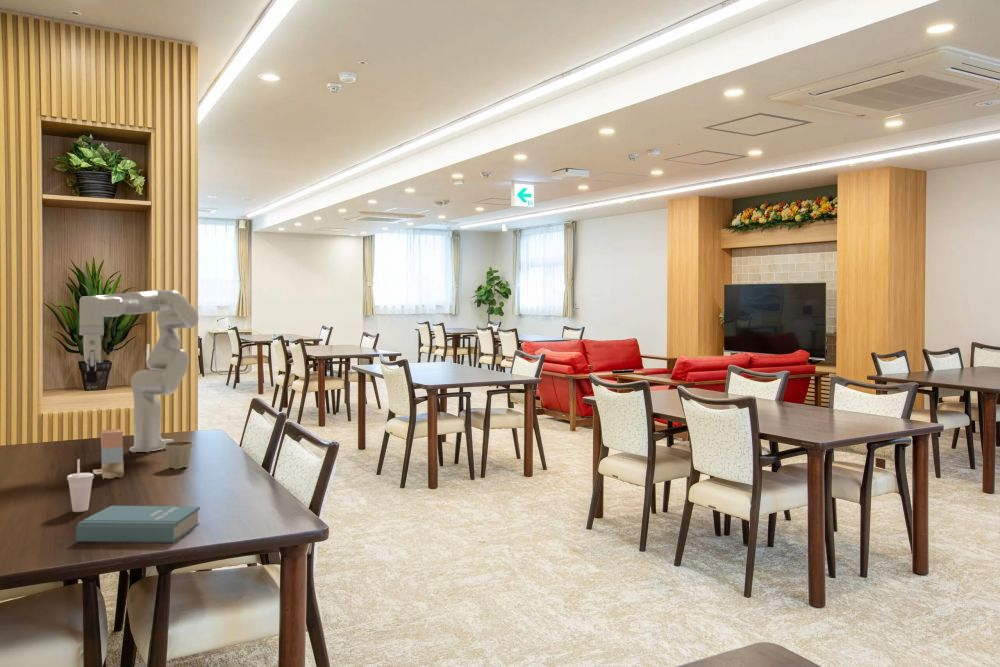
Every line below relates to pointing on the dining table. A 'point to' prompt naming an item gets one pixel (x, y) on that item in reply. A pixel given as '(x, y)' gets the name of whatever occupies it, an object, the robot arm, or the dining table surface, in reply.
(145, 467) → the dining table surface
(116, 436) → the terracotta brick
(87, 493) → the smoothie
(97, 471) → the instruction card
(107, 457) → the slate blue brick
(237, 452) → the dining table surface
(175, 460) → the flower pot
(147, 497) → the dining table surface
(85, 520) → the book
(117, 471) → the maple brick
